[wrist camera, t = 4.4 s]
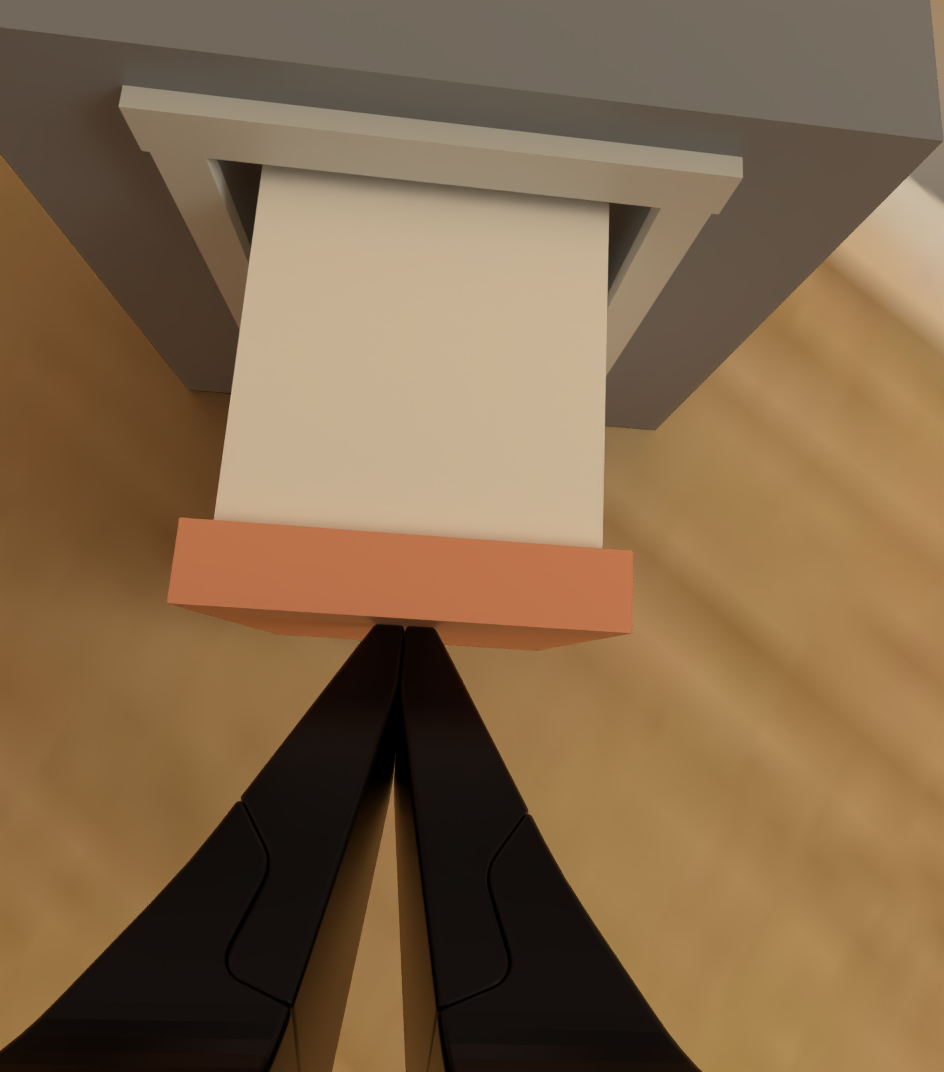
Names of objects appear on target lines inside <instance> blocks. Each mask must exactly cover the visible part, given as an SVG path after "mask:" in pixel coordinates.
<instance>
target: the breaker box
mask: <svg viewBox="0 0 944 1072" xmlns="http://www.w3.org/2000/svg"><path fill="white" fill-rule="evenodd" d="M942 141H943V134H942V123H941V113H940V101H939V91H938V80H937V69H936V59H935V48H934V37H933V26H932V17H931V5H930V0H0V154H1V155H2V156H3V158H4V159H5V160H6V161H7V163H8V164H9V165H10V166H11V168H12V169H13V170H14V171H15V173H16V174H17V175H18V177H19V178H20V179H21V180H22V182H23V183H24V184H25V185H26V187H27V188H28V189H29V190H30V192H31V193H32V194H33V195H34V197H35V198H36V199H37V200H38V202H39V203H40V204H41V205H42V207H43V208H44V209H45V210H46V212H47V213H48V214H49V215H50V217H51V218H52V219H53V221H54V222H55V223H56V224H57V226H58V227H59V228H60V229H61V231H62V232H63V233H64V234H65V236H66V237H67V238H68V239H69V241H70V242H71V243H72V244H73V246H74V247H75V248H76V249H77V251H78V252H79V253H80V254H81V256H82V257H83V258H84V259H85V261H86V262H87V263H88V264H89V266H90V267H91V268H92V270H93V271H94V272H95V273H96V275H97V276H98V277H99V278H100V280H101V281H102V282H103V283H104V285H105V286H106V287H107V288H108V290H109V291H110V292H111V293H112V295H113V296H114V297H115V298H116V300H117V301H118V302H119V303H120V305H121V306H122V307H123V308H124V310H125V311H126V312H127V314H128V315H129V316H130V317H131V319H132V320H133V321H134V322H135V324H136V325H137V326H138V327H139V329H140V330H141V331H142V332H143V334H144V335H145V336H146V337H147V339H148V340H149V341H150V342H151V344H152V345H153V346H154V347H155V349H156V350H157V351H158V352H159V354H160V355H161V356H162V357H163V359H164V360H165V361H166V363H167V364H168V365H169V366H170V368H171V369H172V370H173V371H174V373H175V374H176V375H177V376H178V378H179V379H180V380H181V381H182V383H183V384H184V385H185V386H186V388H187V389H188V390H198V391H209V392H221V393H231V391H232V383H233V376H234V369H235V362H236V354H237V347H238V340H239V332H240V325H241V318H242V311H243V303H244V296H245V289H246V282H247V274H248V267H249V260H250V253H251V245H252V238H253V231H254V224H255V216H256V209H257V202H258V195H259V187H260V180H261V173H262V165H263V164H265V165H274V166H283V167H292V168H301V169H310V170H319V171H328V172H337V173H347V174H356V175H365V176H374V177H383V178H392V179H401V180H410V181H419V182H428V183H438V184H447V185H456V186H465V187H474V188H483V189H492V190H501V191H510V192H519V193H529V194H538V195H547V196H556V197H565V198H574V199H583V200H592V201H601V202H609V245H608V295H607V344H606V394H605V426H614V427H626V428H637V429H649V430H656V429H657V428H658V427H659V426H660V425H661V424H662V423H663V422H664V421H665V420H666V419H667V418H668V417H669V416H670V415H671V414H672V413H673V412H674V411H675V410H676V409H677V408H678V407H679V406H680V405H681V404H682V403H683V402H684V401H685V400H686V399H687V398H688V397H689V396H690V395H691V394H692V393H693V392H694V391H695V390H696V389H697V388H698V387H699V386H700V385H701V384H702V383H703V382H704V381H705V380H706V379H707V378H708V377H709V376H710V375H711V374H712V373H713V372H714V371H715V370H716V369H717V368H718V367H719V366H720V365H721V364H722V363H723V362H724V361H725V360H726V359H727V358H728V357H729V356H730V355H731V354H732V353H733V352H734V351H735V350H736V349H737V348H738V347H739V346H740V345H741V344H742V343H743V342H744V341H745V340H746V339H747V338H748V337H749V336H750V335H751V334H752V333H753V332H754V331H755V330H756V329H757V327H758V326H759V325H760V324H761V323H762V322H763V321H764V320H765V319H766V318H767V317H768V316H769V315H770V314H771V313H772V312H773V311H774V310H775V309H776V308H777V307H778V306H779V305H780V304H781V303H782V302H783V301H784V300H785V299H786V298H787V297H788V296H789V295H790V294H791V293H792V292H793V291H794V290H795V289H796V288H797V287H798V286H799V285H800V284H801V283H802V282H803V281H804V280H805V279H806V278H807V277H808V276H809V275H810V274H811V273H812V272H813V271H814V270H815V269H816V268H817V267H818V266H819V265H820V264H821V263H822V262H823V261H824V260H825V259H826V258H827V257H828V256H829V255H830V254H831V253H832V252H833V251H834V250H835V249H836V248H837V247H838V246H839V245H840V244H841V243H842V242H843V241H844V240H845V239H846V238H847V237H848V236H849V235H850V234H851V233H852V232H853V231H854V230H855V229H856V228H857V227H858V226H859V225H860V224H861V223H862V222H863V221H864V220H865V219H866V218H867V217H868V216H869V215H870V214H871V213H872V212H873V211H874V210H875V209H876V208H877V207H878V206H879V205H880V204H881V203H882V202H883V201H884V200H885V199H886V198H887V197H888V196H889V195H890V194H891V193H892V192H893V191H894V190H895V189H896V188H897V187H898V186H899V185H900V184H901V183H902V182H903V181H904V180H905V179H906V178H907V177H908V176H909V175H910V174H911V173H912V172H913V171H914V170H915V169H916V168H917V167H918V166H919V165H920V164H921V163H922V162H923V160H924V159H926V158H927V157H928V156H929V155H930V154H931V152H932V151H934V150H935V149H936V147H938V146H939V145H940V144H941V143H942Z"/></svg>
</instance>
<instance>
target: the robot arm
mask: <svg viewBox="0 0 944 1072" xmlns="http://www.w3.org/2000/svg"><path fill="white" fill-rule="evenodd" d="M395 754H396V755H395ZM394 766H395V773H394ZM393 774H394V807H395V831H396V854H397V878H398V901H399V924H400V948H401V971H402V995H403V1018H404V1042H405V1065H406V1072H702V1071H701V1070H700V1069H699V1068H698V1067H697V1066H696V1065H695V1064H694V1063H693V1062H692V1061H691V1060H690V1058H689V1057H688V1056H687V1055H686V1054H685V1053H684V1052H683V1051H682V1049H681V1048H680V1047H679V1046H678V1044H677V1043H676V1042H675V1041H674V1039H673V1038H672V1037H671V1035H670V1034H669V1033H668V1031H667V1030H666V1029H665V1027H664V1026H663V1024H662V1023H661V1021H660V1020H659V1019H658V1017H657V1016H656V1014H655V1013H654V1011H653V1010H652V1008H651V1007H650V1005H649V1004H648V1002H647V1001H646V1000H645V998H644V997H643V995H642V994H641V992H640V991H639V989H638V988H637V986H636V985H635V983H634V982H633V980H632V979H631V977H630V976H629V974H628V973H627V971H626V970H625V968H624V967H623V965H622V964H621V962H620V961H619V959H618V958H617V956H616V955H615V953H614V952H613V951H612V949H611V948H610V946H609V945H608V943H607V942H606V940H605V939H604V937H603V936H602V934H601V933H600V931H599V930H598V928H597V927H596V925H595V924H594V922H593V921H592V919H591V918H590V916H589V915H588V913H587V912H586V910H585V908H584V907H583V905H582V904H581V902H580V901H579V899H578V897H577V896H576V894H575V893H574V891H573V890H572V888H571V886H570V885H569V883H568V882H567V880H566V879H565V877H564V875H563V873H562V872H561V870H560V868H559V866H558V864H557V863H556V861H555V859H554V857H553V855H552V854H551V852H550V850H549V848H548V846H547V844H546V843H545V841H544V839H543V837H542V835H541V833H540V831H539V829H538V827H537V825H536V823H535V821H534V819H533V817H532V816H531V815H530V814H528V808H527V806H526V804H525V802H524V800H523V798H522V797H521V795H520V793H519V791H518V789H517V787H516V785H515V783H514V781H513V779H512V777H511V775H510V773H509V771H508V769H507V767H506V765H505V763H504V761H503V759H502V757H501V755H500V753H499V752H498V750H497V748H496V746H495V744H494V742H493V740H492V738H491V736H490V734H489V732H488V730H487V728H486V726H485V724H484V722H483V720H482V718H481V716H480V714H479V712H478V710H477V708H476V706H475V705H474V703H473V701H472V699H471V697H470V695H469V693H468V691H467V689H466V687H465V685H464V683H463V681H462V679H461V677H460V675H459V673H458V671H457V669H456V667H455V665H454V663H453V661H452V660H451V658H450V656H449V654H448V652H447V650H446V648H445V646H444V644H443V642H442V640H441V638H440V636H439V634H438V632H437V631H436V629H435V628H432V627H417V626H408V627H407V628H406V629H404V627H403V626H400V625H386V624H376V625H374V626H373V627H372V628H371V630H370V631H369V632H368V634H367V635H366V636H365V637H364V639H363V640H362V641H361V643H360V644H359V645H358V646H357V648H356V649H355V650H354V652H353V653H352V654H351V655H350V657H349V658H348V659H347V661H346V662H345V663H344V665H343V666H342V667H341V668H340V670H339V671H338V672H337V674H336V675H335V676H334V677H333V679H332V680H331V681H330V683H329V684H328V685H327V686H326V688H325V689H324V690H323V692H322V693H321V694H320V695H319V697H318V698H317V699H316V701H315V702H314V703H313V704H312V706H311V707H310V708H309V710H308V711H307V712H306V714H305V715H304V716H303V717H302V719H301V720H300V721H299V723H298V724H297V725H296V726H295V728H294V729H293V730H292V732H291V733H290V734H289V735H288V737H287V738H286V739H285V741H284V742H283V743H282V744H281V746H280V747H279V748H278V750H277V751H276V752H275V753H274V755H273V756H272V757H271V759H270V760H269V761H268V763H267V764H266V765H265V766H264V768H263V769H262V770H261V772H260V773H259V774H258V775H257V777H256V778H255V779H254V781H253V782H252V783H251V784H250V786H249V787H248V788H247V790H246V791H245V792H244V793H243V795H242V796H241V801H238V802H236V803H235V805H234V806H233V807H232V808H231V810H230V811H229V812H228V814H227V815H226V816H225V818H224V819H223V820H222V821H221V823H220V824H219V825H218V827H217V828H216V829H215V830H214V831H213V833H212V834H211V835H210V836H209V837H208V839H207V840H206V841H205V842H204V844H203V845H202V846H201V847H200V848H199V850H198V851H197V852H196V853H195V854H194V856H193V857H192V858H191V859H190V861H189V862H188V863H187V864H186V865H185V866H184V867H183V868H182V869H181V870H180V872H179V873H178V874H177V875H176V876H175V877H174V878H173V879H172V880H171V881H170V882H169V884H168V885H167V886H166V887H165V888H164V889H163V890H162V891H161V892H160V893H159V894H158V895H157V897H156V898H155V899H154V900H153V901H152V902H151V903H150V904H149V905H148V906H147V907H146V908H145V909H144V910H143V911H142V912H141V913H140V914H139V915H138V916H137V917H136V919H135V920H134V921H133V922H132V923H131V924H130V925H129V926H128V927H127V928H126V929H125V930H124V931H123V932H122V933H121V934H120V935H119V936H118V937H117V938H116V939H115V940H114V941H113V942H112V943H111V944H110V945H109V947H108V948H107V949H106V950H105V951H104V952H103V953H102V954H101V955H100V956H99V957H98V958H97V959H96V960H95V961H94V962H93V963H92V964H91V965H90V966H89V967H88V968H87V969H86V970H85V971H84V972H83V973H82V975H81V976H80V977H79V978H78V979H77V980H76V981H75V982H74V983H73V984H72V985H71V986H70V987H69V988H68V989H67V990H66V991H65V992H64V993H63V994H62V995H61V996H60V997H59V998H58V999H57V1000H56V1001H55V1002H54V1003H53V1004H52V1005H51V1006H50V1007H49V1008H48V1009H47V1010H46V1011H45V1012H44V1013H43V1014H42V1015H41V1016H40V1017H39V1018H38V1019H37V1020H36V1021H35V1022H34V1023H33V1024H32V1025H31V1026H30V1027H28V1028H27V1029H26V1030H25V1031H24V1032H23V1033H22V1034H21V1035H19V1036H18V1037H17V1038H16V1039H14V1040H13V1041H12V1042H11V1043H9V1044H8V1045H7V1046H6V1047H4V1048H3V1049H2V1050H1V1051H0V1072H332V1069H333V1064H334V1059H335V1054H336V1050H337V1045H338V1040H339V1036H340V1031H341V1026H342V1021H343V1017H344V1012H345V1007H346V1003H347V998H348V993H349V988H350V984H351V979H352V974H353V970H354V965H355V960H356V955H357V951H358V946H359V941H360V936H361V932H362V927H363V922H364V918H365V913H366V908H367V903H368V899H369V894H370V889H371V885H372V880H373V875H374V870H375V866H376V861H377V856H378V851H379V847H380V842H381V837H382V833H383V828H384V823H385V818H386V814H387V809H388V804H389V800H390V794H391V788H392V783H393Z"/></svg>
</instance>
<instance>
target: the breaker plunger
mask: <svg viewBox="0 0 944 1072" xmlns="http://www.w3.org/2000/svg"><path fill="white" fill-rule="evenodd" d="M608 245H609V202H601V201H592V200H583V199H574V198H565V197H556V196H547V195H538V194H529V193H519V192H510V191H501V190H492V189H483V188H474V187H465V186H456V185H447V184H438V183H428V182H419V181H410V180H401V179H392V178H383V177H374V176H365V175H356V174H347V173H337V172H328V171H319V170H310V169H301V168H292V167H283V166H274V165H265V164H263V165H262V173H261V180H260V187H259V195H258V202H257V209H256V216H255V224H254V231H253V238H252V245H251V253H250V260H249V267H248V274H247V282H246V289H245V296H244V303H243V311H242V318H241V325H240V332H239V340H238V347H237V354H236V362H235V369H234V376H233V383H232V391H231V398H230V405H229V412H228V420H227V427H226V434H225V441H224V449H223V456H222V463H221V470H220V478H219V485H218V492H217V500H216V507H215V514H214V520H209V519H195V518H181V517H179V523H178V530H177V536H176V543H175V550H174V557H173V563H172V570H171V577H170V584H169V590H168V597H167V603H168V604H172V605H175V606H179V607H182V608H186V609H189V610H193V611H197V612H200V613H204V614H207V615H211V616H214V617H218V618H221V619H225V620H228V621H232V622H235V623H239V624H242V625H246V626H249V627H253V628H256V629H260V630H263V631H267V632H271V633H274V634H280V635H296V636H312V637H328V638H344V639H360V640H363V639H364V637H365V636H366V635H367V634H368V632H369V631H370V630H371V628H372V627H373V626H374V625H376V624H386V625H400V626H403V627H404V629H406V628H407V627H408V626H417V627H432V628H435V629H436V631H437V632H438V634H439V636H440V638H441V640H442V642H443V644H444V645H456V646H472V647H488V648H504V649H520V650H536V651H538V650H543V649H549V648H554V647H560V646H565V645H571V644H576V643H581V642H587V641H592V640H598V639H603V638H609V637H614V636H620V635H625V634H631V633H632V602H633V551H630V550H616V549H603V548H602V543H603V493H604V444H605V394H606V344H607V295H608Z"/></svg>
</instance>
